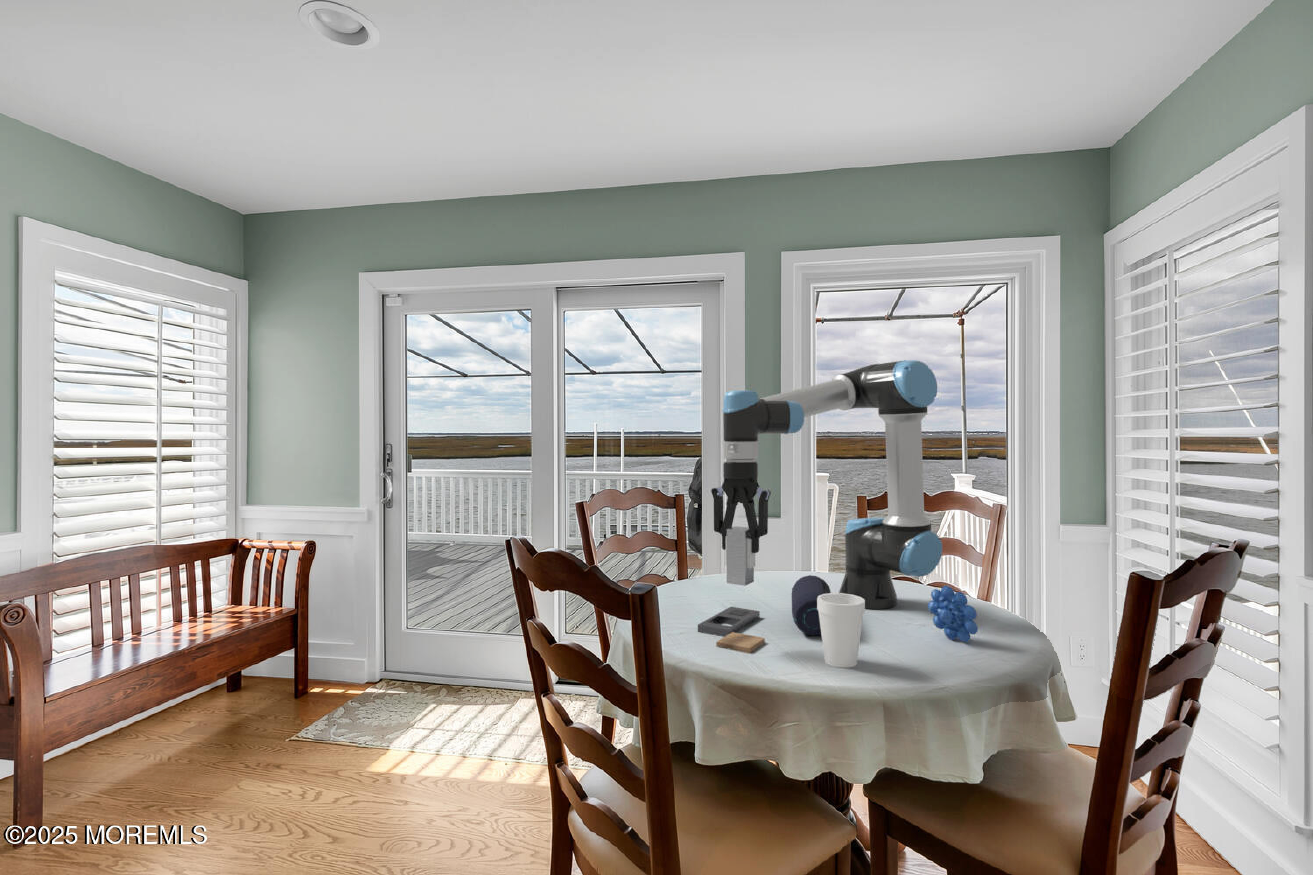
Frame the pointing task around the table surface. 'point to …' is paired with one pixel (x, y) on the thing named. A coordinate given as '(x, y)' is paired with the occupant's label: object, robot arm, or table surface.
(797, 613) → the portable speaker
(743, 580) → the tall grey prism
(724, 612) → the dark grey slotted board
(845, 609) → the foam cup
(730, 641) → the pad
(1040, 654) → the table surface
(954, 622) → the grapes
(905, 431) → the robot arm
